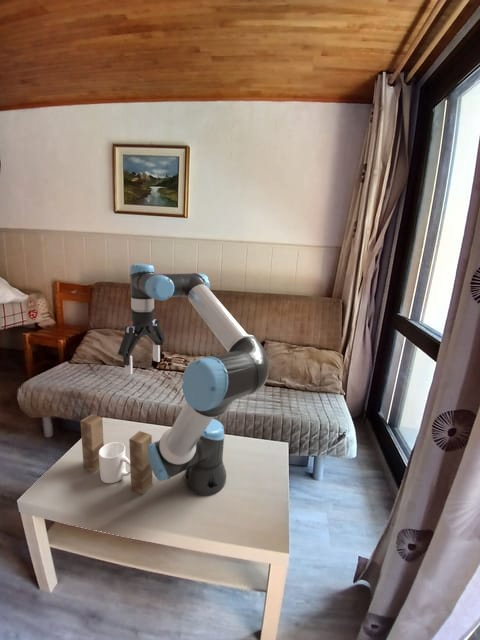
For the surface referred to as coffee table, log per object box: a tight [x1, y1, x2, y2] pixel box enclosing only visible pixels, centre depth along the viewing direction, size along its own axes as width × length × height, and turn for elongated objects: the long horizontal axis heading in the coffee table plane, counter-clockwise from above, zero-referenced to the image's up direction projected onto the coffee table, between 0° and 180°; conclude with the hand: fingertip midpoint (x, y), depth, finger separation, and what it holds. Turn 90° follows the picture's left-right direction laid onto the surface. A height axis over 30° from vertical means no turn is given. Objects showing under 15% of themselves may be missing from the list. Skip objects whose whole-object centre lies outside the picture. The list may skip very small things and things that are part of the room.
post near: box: [128, 430, 153, 495], centre depth 104 cm, size 5×5×20 cm
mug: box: [99, 441, 131, 484], centre depth 109 cm, size 9×12×11 cm
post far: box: [79, 413, 105, 474], centre depth 112 cm, size 5×5×20 cm
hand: (143, 366), depth 111 cm, fingers open, 13 cm apart
